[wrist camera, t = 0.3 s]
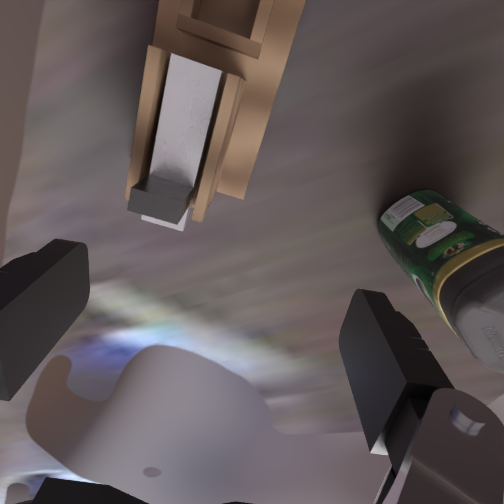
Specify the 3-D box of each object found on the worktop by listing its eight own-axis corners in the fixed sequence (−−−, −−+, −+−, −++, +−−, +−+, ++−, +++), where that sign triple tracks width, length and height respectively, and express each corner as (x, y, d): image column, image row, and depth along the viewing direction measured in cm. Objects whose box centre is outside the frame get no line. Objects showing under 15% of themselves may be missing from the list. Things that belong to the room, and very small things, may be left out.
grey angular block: (176, 55, 23) (153, 45, 18) (224, 72, 24) (214, 66, 18) (147, 212, 28) (122, 238, 23) (186, 224, 29) (170, 252, 24)
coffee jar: (467, 240, 39) (625, 353, 22) (405, 276, 41) (504, 403, 24) (430, 174, 36) (580, 247, 19) (364, 217, 38) (447, 316, 21)
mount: (178, -96, 27) (124, -219, 16) (317, -40, 28) (352, -120, 18) (136, 163, 36) (83, 193, 25) (243, 197, 37) (236, 239, 27)
